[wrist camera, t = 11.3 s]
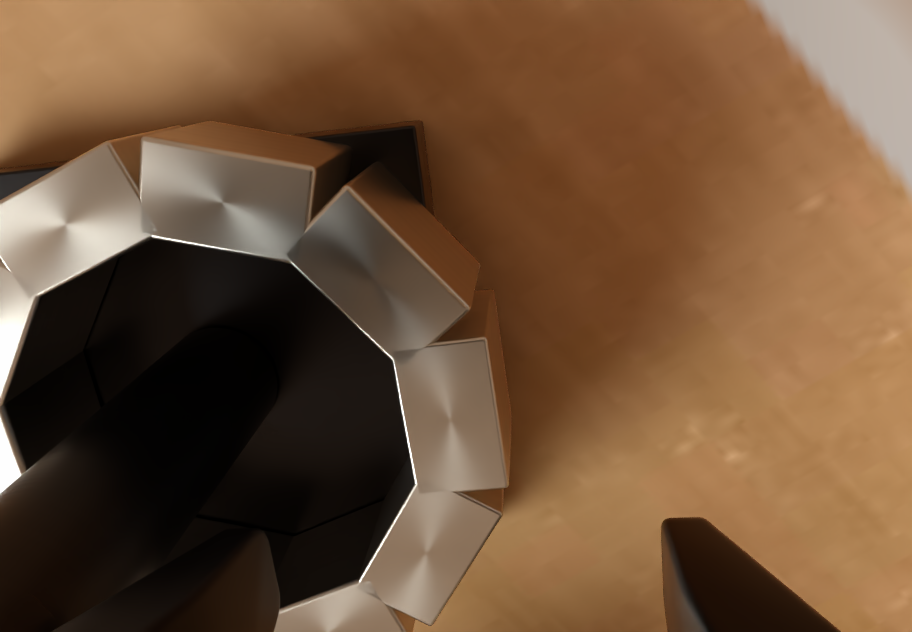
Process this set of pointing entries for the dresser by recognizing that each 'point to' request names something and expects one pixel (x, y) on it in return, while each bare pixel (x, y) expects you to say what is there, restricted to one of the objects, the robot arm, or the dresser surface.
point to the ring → (339, 279)
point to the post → (205, 412)
